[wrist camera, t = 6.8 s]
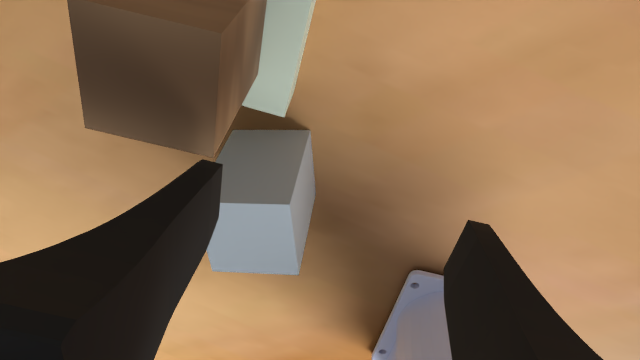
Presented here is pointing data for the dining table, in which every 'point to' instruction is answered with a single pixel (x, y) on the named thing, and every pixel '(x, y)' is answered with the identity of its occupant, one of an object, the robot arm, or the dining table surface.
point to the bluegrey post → (264, 202)
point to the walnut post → (166, 67)
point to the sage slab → (280, 55)
